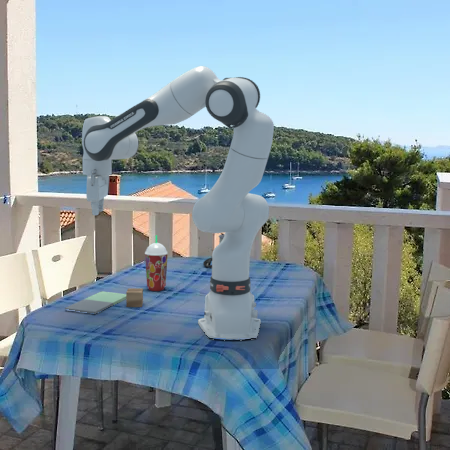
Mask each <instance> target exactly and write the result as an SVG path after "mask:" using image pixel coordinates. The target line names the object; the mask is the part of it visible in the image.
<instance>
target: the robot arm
mask: <svg viewBox="0 0 450 450" xmlns="http://www.w3.org/2000/svg"><path fill="white" fill-rule="evenodd" d="M260 91H261V90H260V89H259V85H257V84H256V82H254V81H253V80H252V79H250V78H247V77H243V76H242V77H241V76H235V77H225V78H223V79H220V78H219V77H218V76H217V74H216V73H215V72H214V71H213V70H212V69H211V68H209V67H207V66H204V65H198V66H195V67H193V68H191V69H189V70H187V71H186V72H184V73H182V74H181V75H179V76H177V77H176V78H174V79H172V80H171V81H170V82H169V83H167V84H166V85H164V86H163V87H161V88H160V89H159V90H158V91H156V92H155V93H153V94H152V95H150V96H148V97H147V98H145V99H144V100H142V101H141V102H139V103H137V104H136V105H133V106H132V107H130V108H128V109H127V110H125V111H124V112H122V113H121V114H119V115H117V116H116V117H115V118H113V119H111V118H110V117H108V116H107V115H94V116H93V115H92V116H89V117H87V118H85V119H84V121H83V124H82V125H83V126H82V132H81V145H82V149H83V150H82V151H83V155H82V175H85V176H86V200H87V202H90V206H91V213H92V216H98V215H99V214H100V212H103V211H104V203H105V197H106V196H108V193H109V185H110V184H109V183H110V175H112V174H113V172H112V168H113V167H112V162H113V161H112V160H126V159H129V158H133V157H134V156H135V155H136V154H137V152H138V150H139V146H140V145H139V142H140V141H139V138H138V135H137V134H136V133H137V132H139V131H140V130H142V129H146V128H149V127H155V126H169V125H176V124H180V123H182V122H184V121H186V120H188V119H191V118H192V116H194V115H195V114H197V113H198V112H200V111H202V110H203V109H206V110H207V113H208V114H209V116H211V117H212V118H213V119H214V120H216V121H218V122H220V123H221V124H223V125H224V126H226V127H227V128H228V129H233V135H232V139H231V143H230V147H229V150H228V153H227V157H226V160H225V163H224V166H223V169H222V171H221V173H220V175H219V178H218V179H217V180H216V182H215V183H214V184H213V186H212V187H211V188H210V189H209V190H208V192H206V194H205V195H204V194H203V195H204V196H201V198H199V199H198V200H196V202H195V203H194V204H193V208H192V212H191V213H192V214H191V215H192V216H191V217H192V222H193V224H194V225H195V227H196V229H198V231H200V232H202V233H203V232H204V233H210V234H223V233H224V234H225V235H224V234H223V235H224V238H223V240H222V241H221V243H220V244H217V245H216V246H215V248H213V251H212V254H211V255H212V256H211V258H212V261H211V265H212V268H211V276H210V279H209V288H210V291H209V292H208V293H207V294H206V295H205V298H204V315H203V318H199V319H198V320H197V321H198V322H197V324H198V326H199V328H201V330H202V332H205V333H204V335H205V336H206V335H207V336H208V337H210V338H226V339H238V338H239V339H240V338H254V337H257V336H258V337H259V334H258V333H260V329H259V328H261V325H262V322H261V319H260V318H258V315H259V314H258V309H255V308H257V302H255V295H254V294H253V293H252V292H251V284H252V283H251V277H250V261H251V260H250V259H251V251H252V247H253V244H254V242H255V238H256V237H257V234H258V233H259V230H261V228H262V227H263V226H264V225H265V224H266V223H267V221H268V219H269V217H270V207H269V203H268V201H267V200H266V198H265V197H263V196H262V195H259V194H255V193H250V192H251V191H252V190H253V189H254V188H256V187H257V186H258V185H259V184H260V183H261V181H263V180H262V178H263V175H264V173H265V170H266V166H267V163H268V160H269V156H270V153H271V149H272V145H273V139H274V137H273V136H274V130H275V125H274V124H275V123H274V121H273V120H272V118H271V117H270V116H269V115H267V114H266V113H264V112H261V111H259V110H258V109H257V108H258V105H260V104H259V103H260V101H261V92H260ZM260 324H261V325H260ZM207 336H206V337H207ZM208 337H207V338H208Z"/></svg>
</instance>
